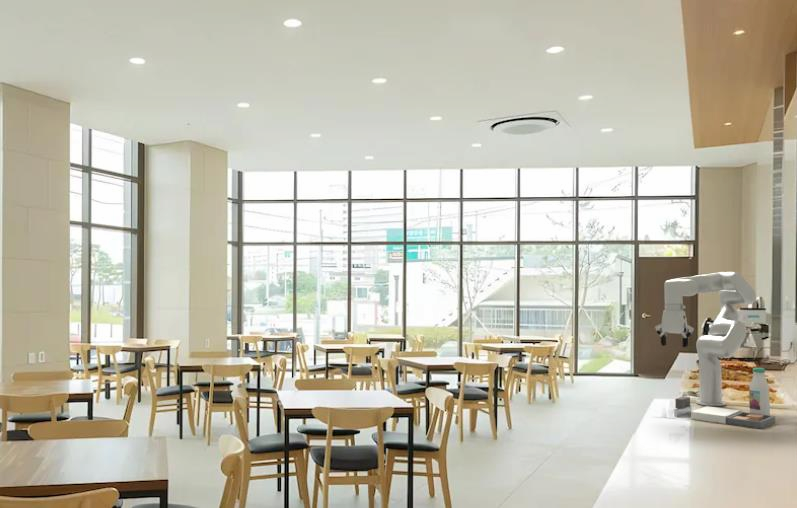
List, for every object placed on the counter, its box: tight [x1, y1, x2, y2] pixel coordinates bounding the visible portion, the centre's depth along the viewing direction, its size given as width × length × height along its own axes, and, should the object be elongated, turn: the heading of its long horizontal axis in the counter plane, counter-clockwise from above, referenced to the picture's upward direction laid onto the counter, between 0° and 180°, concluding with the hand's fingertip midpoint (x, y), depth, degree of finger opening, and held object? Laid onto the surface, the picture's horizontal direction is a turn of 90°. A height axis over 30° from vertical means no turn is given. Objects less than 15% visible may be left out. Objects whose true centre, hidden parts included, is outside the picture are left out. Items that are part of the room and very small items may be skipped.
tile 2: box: [746, 414, 764, 422], centre depth 293 cm, size 5×5×2 cm
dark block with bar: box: [673, 396, 693, 417], centre depth 311 cm, size 15×3×7 cm, turn 135°
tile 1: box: [733, 416, 750, 420], centre depth 289 cm, size 5×5×2 cm
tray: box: [726, 411, 776, 430], centre depth 291 cm, size 16×13×2 cm
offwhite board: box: [690, 405, 741, 424], centre depth 301 cm, size 16×14×3 cm
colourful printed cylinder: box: [748, 367, 771, 416], centre depth 307 cm, size 8×8×20 cm
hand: (674, 346), depth 320 cm, fingers open, 9 cm apart
